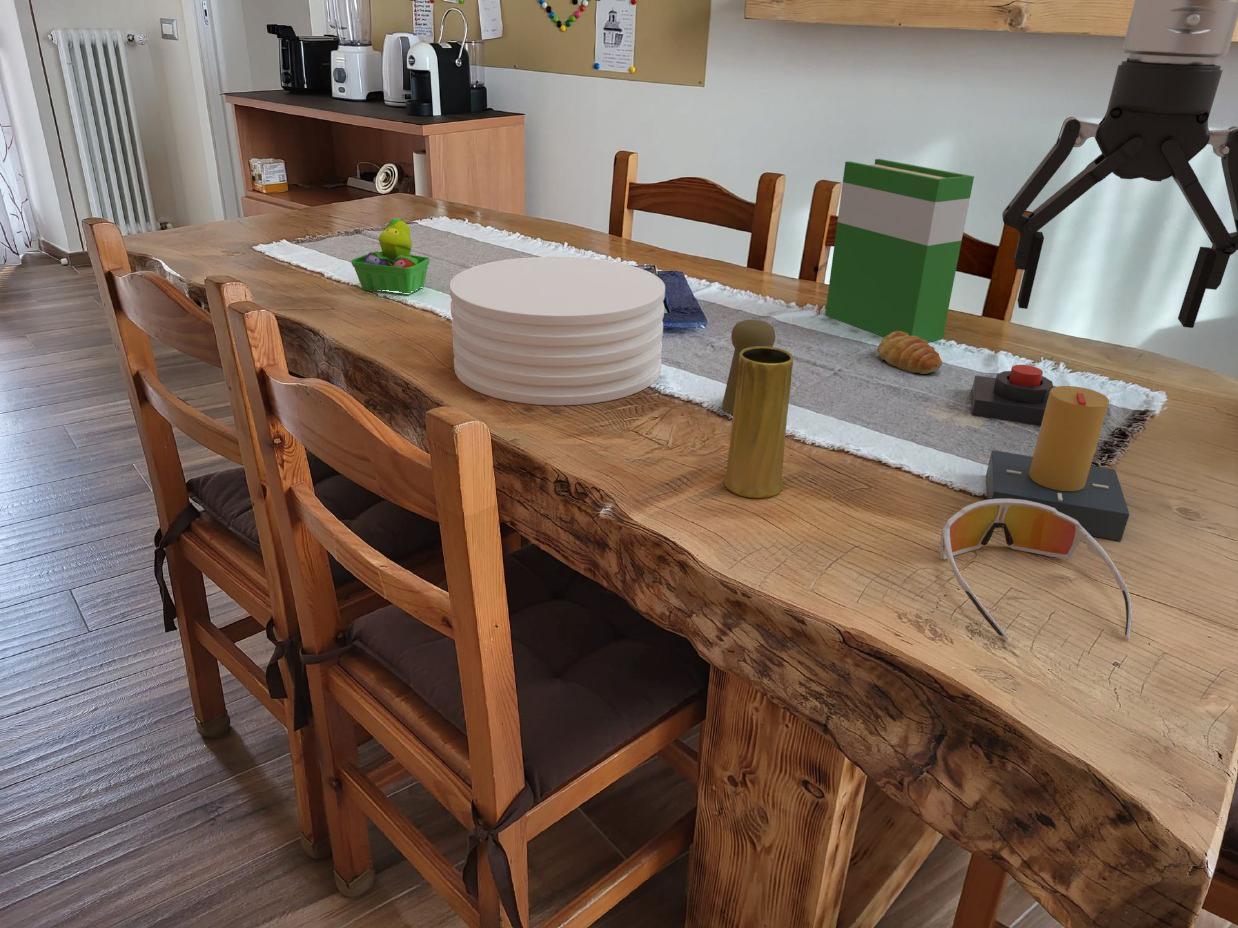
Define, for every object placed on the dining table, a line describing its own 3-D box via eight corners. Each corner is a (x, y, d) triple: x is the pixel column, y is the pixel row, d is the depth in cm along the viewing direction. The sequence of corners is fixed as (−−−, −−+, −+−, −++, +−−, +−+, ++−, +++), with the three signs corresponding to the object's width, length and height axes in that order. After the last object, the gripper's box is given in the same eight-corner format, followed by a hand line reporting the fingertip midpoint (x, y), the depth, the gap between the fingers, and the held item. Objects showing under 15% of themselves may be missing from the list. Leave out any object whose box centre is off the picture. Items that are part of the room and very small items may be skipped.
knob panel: (1107, 494, 95) (1116, 467, 94) (1121, 541, 86) (1130, 512, 85) (985, 474, 98) (992, 448, 97) (987, 517, 90) (994, 489, 88)
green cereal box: (825, 315, 149) (845, 161, 138) (857, 308, 153) (879, 159, 142) (909, 346, 136) (939, 180, 125) (942, 339, 139) (974, 176, 129)
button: (1038, 380, 114) (1042, 366, 114) (1040, 390, 111) (1043, 376, 111) (1008, 375, 115) (1011, 362, 115) (1009, 385, 112) (1012, 372, 112)
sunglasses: (1063, 540, 86) (1080, 497, 83) (1144, 659, 74) (1167, 614, 71) (915, 540, 85) (927, 497, 83) (973, 660, 73) (989, 615, 70)
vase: (711, 482, 95) (721, 352, 89) (751, 466, 99) (764, 340, 92) (754, 505, 91) (769, 370, 84) (794, 487, 94) (811, 357, 88)
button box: (1061, 403, 117) (1069, 374, 116) (1067, 430, 110) (1076, 399, 108) (971, 390, 120) (977, 362, 119) (971, 416, 113) (978, 385, 111)
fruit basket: (351, 291, 154) (344, 223, 149) (379, 278, 161) (373, 213, 156) (411, 299, 150) (406, 229, 145) (437, 285, 158) (433, 219, 153)
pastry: (952, 373, 126) (958, 347, 124) (915, 380, 123) (919, 353, 122) (906, 351, 134) (910, 326, 132) (869, 358, 131) (873, 332, 129)
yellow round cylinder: (1027, 464, 94) (1048, 379, 90) (1082, 472, 93) (1106, 387, 88) (1029, 486, 90) (1052, 398, 85) (1087, 495, 88) (1113, 406, 84)
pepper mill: (713, 409, 112) (719, 323, 107) (735, 394, 117) (743, 311, 112) (757, 421, 109) (766, 334, 104) (778, 406, 114) (788, 321, 109)
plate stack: (414, 358, 125) (408, 276, 120) (573, 321, 142) (573, 247, 137) (538, 424, 107) (536, 330, 102) (703, 372, 124) (709, 289, 119)
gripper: (1009, 54, 74) (958, 307, 84) (1370, 69, 67) (1269, 344, 77) (1006, 51, 81) (959, 287, 90) (1335, 65, 74) (1246, 319, 83)
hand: (1101, 314), depth 83 cm, fingers open, 13 cm apart
